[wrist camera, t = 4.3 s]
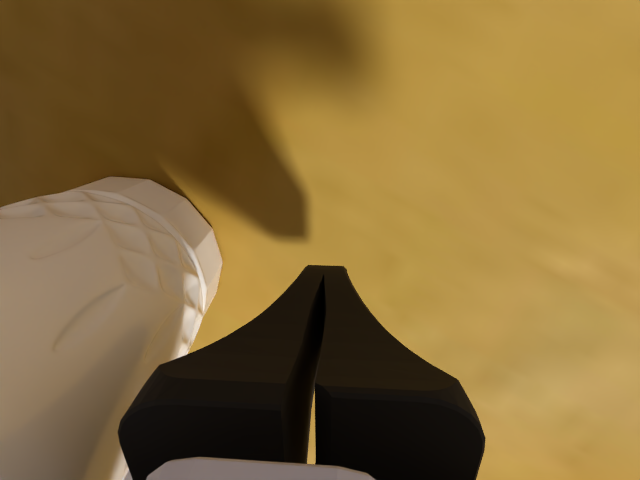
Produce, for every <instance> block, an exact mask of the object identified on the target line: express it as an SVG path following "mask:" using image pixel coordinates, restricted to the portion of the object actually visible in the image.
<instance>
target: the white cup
mask: <svg viewBox="0 0 640 480" xmlns="http://www.w3.org/2000/svg"><path fill="white" fill-rule="evenodd" d="M222 263H223V261H222V258H221V254H220V251H219V248H218V245H217V241H216V238H215V235H214V232H213V229H212V227H211V226H210V225H209V224H208V223H207V222H206V220H205V219H204V218H203V217H202V216H201V215H200V214H199V212H198V211H197V210H196V209H195V208H194V207H193V205H192V204H191V203H190V202H189V201H188V200H187V199H186V198H184V197H182V196H181V195H179V194H177V193H175V192H173V191H171V190H169V189H167V188H165V187H163V186H162V185H160V184H158V183H156V182H154V181H152V180H150V179H138V178H126V177H114V176H110V177H106V178H103V179H100V180H98V181H95V182H92V183H89V184H86V185H83V186H80V187H77V188H74V189H71V190H68V191H65V192H61V193H57V194H51V195H45V196H39V197H34V198H31V199H27V200H23V201H19V202H16V203H12V204H9V205H6V206H3V207H0V480H124V479H125V478H126V476H127V474H128V472H129V468H128V466H127V463H126V460H125V457H124V455H123V452H122V449H121V446H120V443H119V438H118V428H119V424H120V420H121V419H122V417H123V416H124V414H125V413H126V411H127V410H128V408H129V407H130V405H131V404H132V402H133V401H134V399H135V398H136V396H137V395H138V393H139V391H140V390H141V388H142V387H143V385H144V384H145V383H146V381H147V380H148V378H149V377H150V376H151V375H152V373H153V372H154V371H155V369H156V368H157V367H158V366H159V365H160V364H163V363H166V362H169V361H171V360H174V359H176V358H179V357H182V356H184V355H187V353H188V352H189V350H190V348H191V346H192V344H193V341H194V339H195V337H196V335H197V332H198V330H199V327H200V324H201V321H202V318H203V317H204V315H205V313H206V311H207V309H208V307H209V305H210V304H211V302H212V300H213V298H214V296H215V294H216V292H217V288H218V283H219V278H220V273H221V268H222Z"/></svg>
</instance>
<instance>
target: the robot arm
mask: <svg viewBox="0 0 640 480" xmlns="http://www.w3.org/2000/svg"><path fill="white" fill-rule="evenodd" d="M314 389H315V432H316V463H315V465H314V464H307V454H308V442H309V431H310V419H311V408H312V401H313V394H314ZM118 438H119V443H120V446H121V449H122V452H123V455H124V457H125V460H126V463H127V466H128V468H129V472H128V474H127V476H126V478H125V479H124V480H476V477H477V474H478V470H479V467H480V463H481V460H482V457H483V453H484V448H485V436H484V433H483V430H482V427H481V424H480V421H479V418H478V416H477V414H476V411H475V409H474V408H473V406H472V404H471V402H470V400H469V398H468V396H467V395H466V393H465V391H464V389H463V388H462V386H461V384H460V382H459V381H458V380H457V379H456V378H454V377H452V376H451V375H449V374H447V373H445V372H444V371H442V370H440V369H438V368H437V367H435V366H433V365H431V364H430V363H428V362H426V361H425V360H423V359H422V358H420V357H419V356H418V355H416V354H415V353H413V352H412V351H410V350H409V349H408V348H406V347H405V346H404V345H403V344H402V343H400V342H399V341H398V340H397V339H396V338H394V337H393V336H392V335H391V334H390V333H389V332H388V331H387V330H386V329H385V328H384V327H383V326H382V325H381V324H380V323H379V322H378V321H377V319H376V318H375V317H374V316H373V315H372V313H371V312H370V311H369V309H368V308H367V307H366V305H365V304H364V303H363V301H362V300H361V298H360V296H359V295H358V293H357V292H356V290H355V288H354V286H353V285H352V283H351V281H350V279H349V276H348V274H347V270H346V268H345V267H344V266H321V265H308V266H306V267H305V268H304V270H303V271H302V272H301V274H300V275H299V276H298V277H297V279H296V280H295V281H294V282H293V283H292V284H291V285H290V287H289V288H288V289H287V290H286V291H285V292H284V293H283V294H282V295H281V296H280V297H279V298H278V299H277V300H276V301H275V302H274V303H273V304H272V305H271V306H269V307H268V308H267V309H266V310H265V311H264V312H262V313H261V314H260V315H259V316H257V317H256V318H254V319H253V320H252V321H250V322H249V323H247V324H246V325H244V326H242V327H241V328H239V329H237V330H236V331H234V332H233V333H231V334H229V335H228V336H226V337H224V338H222V339H220V340H218V341H216V342H214V343H212V344H210V345H208V346H206V347H204V348H201V349H199V350H197V351H195V352H192V353H190V354H187V355H184V356H182V357H179V358H176V359H174V360H171V361H169V362H166V363H163V364H160V365H159V366H158V367H157V368H156V369H155V371H154V372H153V373H152V375H151V376H150V377H149V378H148V380H147V381H146V383H145V384H144V385H143V387H142V388H141V390H140V391H139V393H138V395H137V396H136V398H135V399H134V401H133V402H132V404H131V405H130V407H129V408H128V410H127V411H126V413H125V414H124V416H123V417H122V419H121V420H120V424H119V428H118Z"/></svg>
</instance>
